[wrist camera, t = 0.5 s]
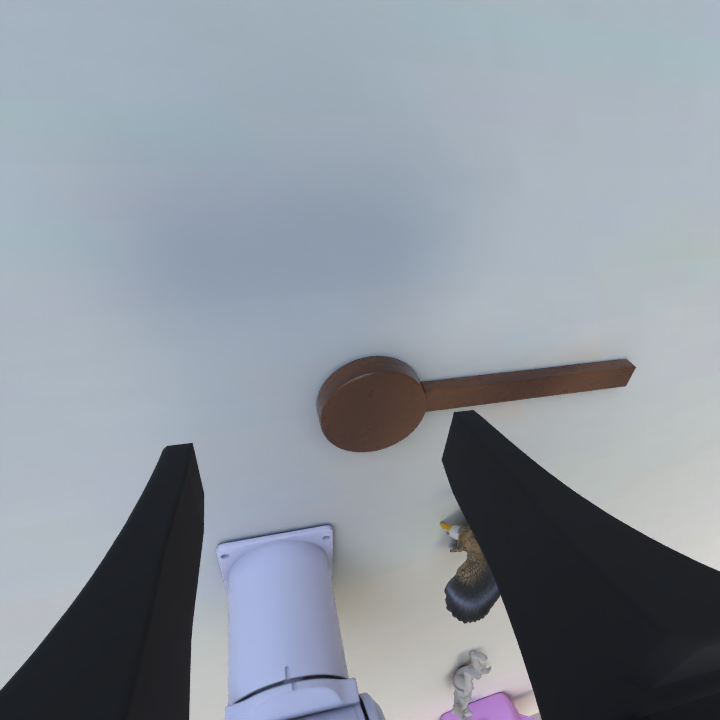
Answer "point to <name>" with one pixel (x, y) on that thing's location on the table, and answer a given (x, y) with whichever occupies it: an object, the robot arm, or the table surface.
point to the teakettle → (491, 709)
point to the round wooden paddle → (435, 396)
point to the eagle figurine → (470, 579)
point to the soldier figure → (467, 684)
